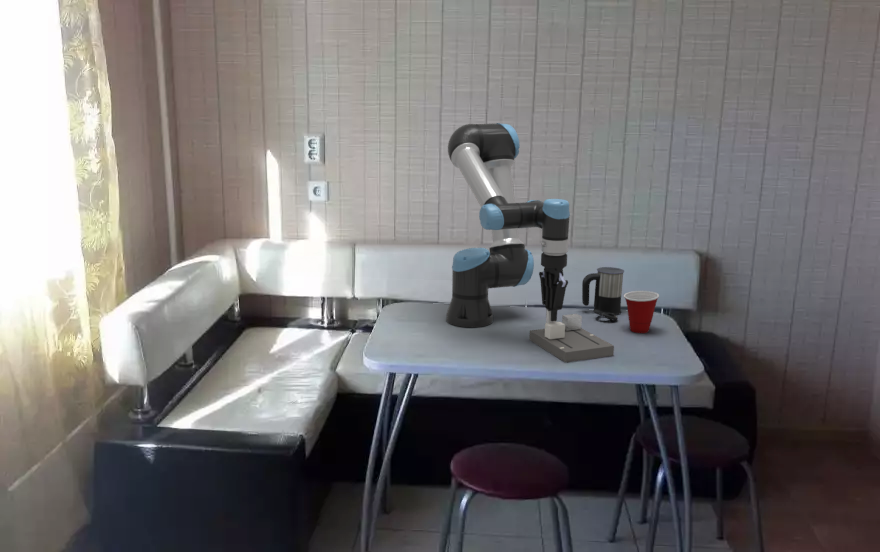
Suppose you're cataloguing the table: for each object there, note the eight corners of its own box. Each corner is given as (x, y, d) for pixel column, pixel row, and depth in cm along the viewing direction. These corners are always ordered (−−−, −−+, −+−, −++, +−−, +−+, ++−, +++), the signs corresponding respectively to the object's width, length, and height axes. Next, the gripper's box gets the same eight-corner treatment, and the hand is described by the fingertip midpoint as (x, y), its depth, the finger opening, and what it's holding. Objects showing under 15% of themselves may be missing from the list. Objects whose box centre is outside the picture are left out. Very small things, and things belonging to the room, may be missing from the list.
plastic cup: (618, 324, 265) (621, 289, 262) (652, 325, 265) (655, 290, 262) (623, 335, 255) (626, 298, 252) (659, 336, 254) (662, 299, 251)
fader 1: (544, 336, 242) (545, 323, 241) (559, 334, 244) (559, 321, 243) (549, 339, 240) (550, 326, 239) (564, 337, 242) (565, 324, 241)
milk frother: (610, 307, 285) (613, 265, 281) (639, 319, 271) (642, 276, 268) (576, 311, 279) (578, 269, 276) (603, 324, 265) (606, 280, 262)
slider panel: (529, 339, 249) (529, 330, 249) (574, 334, 255) (575, 324, 255) (565, 362, 231) (565, 352, 230) (613, 355, 237) (614, 345, 236)
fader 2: (561, 327, 250) (562, 315, 249) (575, 326, 252) (576, 313, 251) (567, 330, 248) (567, 318, 247) (581, 329, 250) (581, 316, 249)
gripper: (532, 249, 242) (529, 325, 248) (554, 258, 231) (550, 338, 236) (554, 247, 245) (550, 323, 251) (577, 256, 234) (573, 335, 239)
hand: (550, 330), depth 244 cm, fingers closed
